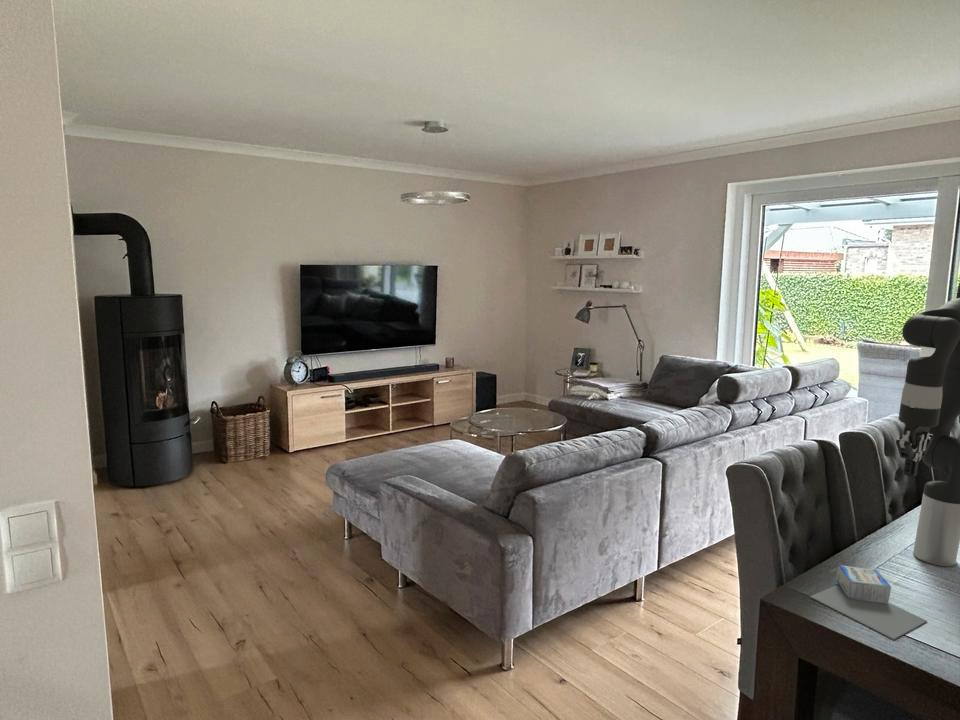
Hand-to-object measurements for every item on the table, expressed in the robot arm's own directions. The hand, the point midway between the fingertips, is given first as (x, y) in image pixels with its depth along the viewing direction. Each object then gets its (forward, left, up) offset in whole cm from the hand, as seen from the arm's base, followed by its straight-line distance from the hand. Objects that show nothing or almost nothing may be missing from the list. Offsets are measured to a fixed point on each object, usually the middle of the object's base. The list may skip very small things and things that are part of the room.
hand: (909, 475), depth 145 cm
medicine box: (+7, +1, -26) cm, 27 cm away
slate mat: (+16, +3, -28) cm, 33 cm away
